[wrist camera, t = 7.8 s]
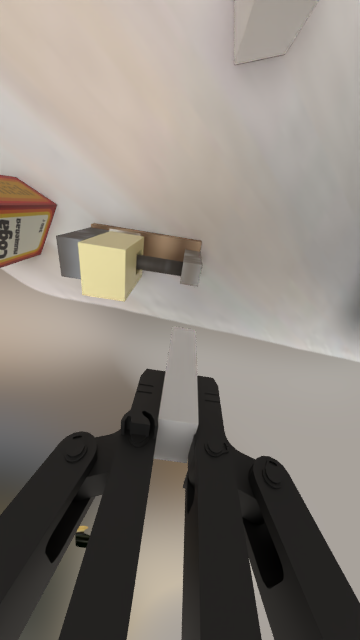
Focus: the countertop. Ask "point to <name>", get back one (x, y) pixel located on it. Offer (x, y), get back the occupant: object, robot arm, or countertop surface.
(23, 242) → the baking soda box
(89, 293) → the pale yellow block
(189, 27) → the countertop surface
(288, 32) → the milk
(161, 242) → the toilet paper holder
